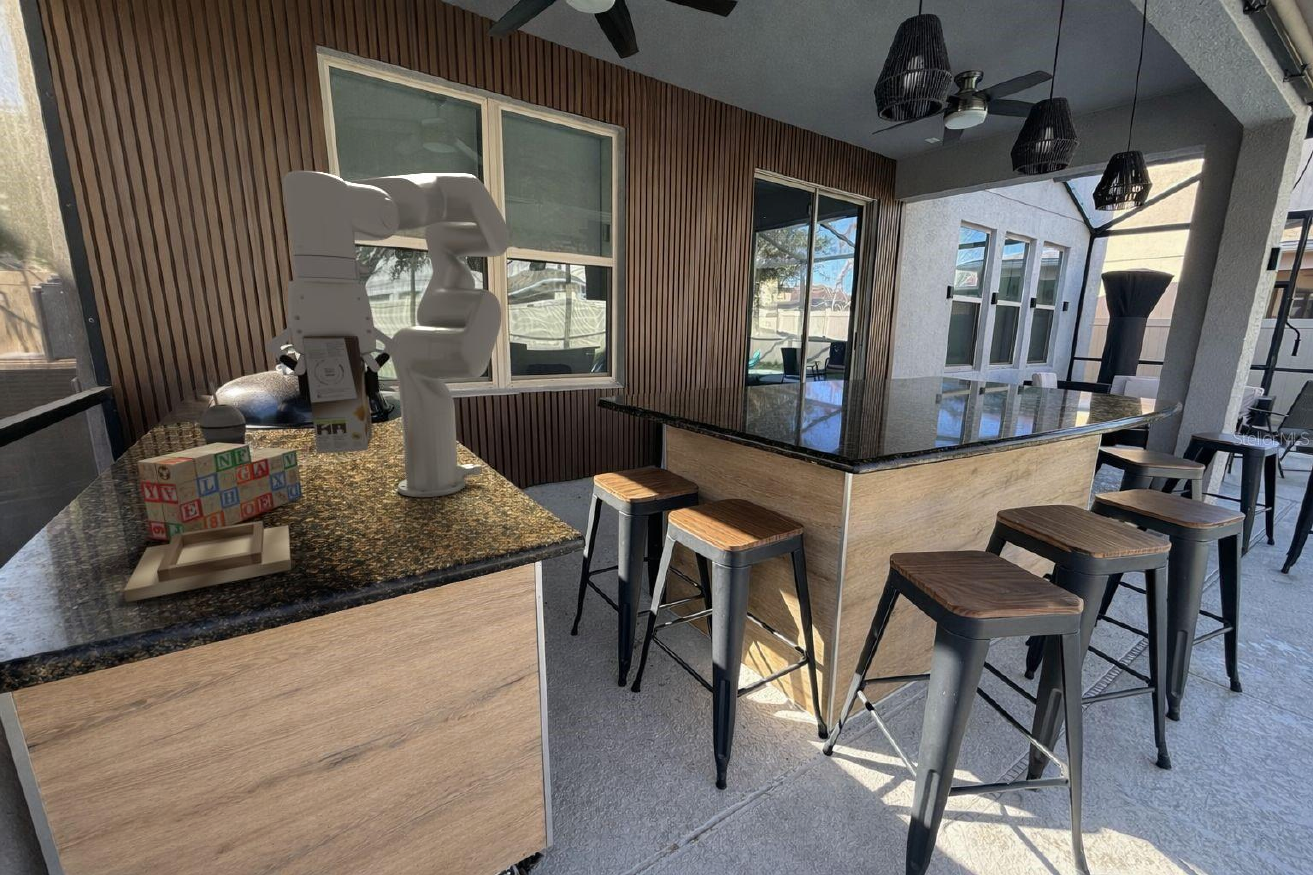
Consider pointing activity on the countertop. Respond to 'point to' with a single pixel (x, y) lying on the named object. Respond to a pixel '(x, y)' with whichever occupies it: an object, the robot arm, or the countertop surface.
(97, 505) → the countertop surface
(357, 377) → the coffee box
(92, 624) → the countertop surface
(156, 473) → the stack of blocks
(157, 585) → the base board
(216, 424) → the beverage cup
